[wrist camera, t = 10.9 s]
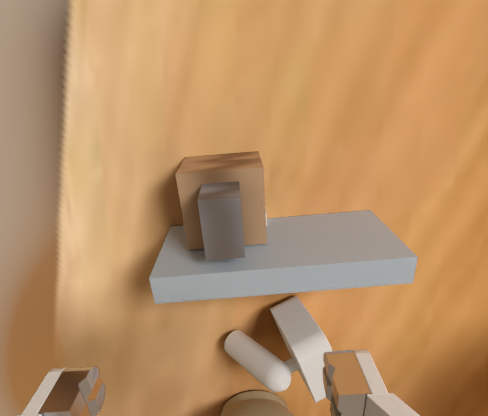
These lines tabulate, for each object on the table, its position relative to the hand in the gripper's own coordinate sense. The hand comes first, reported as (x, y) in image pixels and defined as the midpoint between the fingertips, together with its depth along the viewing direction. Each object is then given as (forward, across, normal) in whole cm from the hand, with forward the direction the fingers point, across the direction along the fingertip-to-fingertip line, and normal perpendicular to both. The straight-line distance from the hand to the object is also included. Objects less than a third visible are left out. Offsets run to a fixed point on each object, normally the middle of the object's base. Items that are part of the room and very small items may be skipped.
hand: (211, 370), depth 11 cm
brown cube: (+21, 0, +1) cm, 21 cm away
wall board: (+21, -4, +6) cm, 22 cm away
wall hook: (+21, -4, +19) cm, 29 cm away
